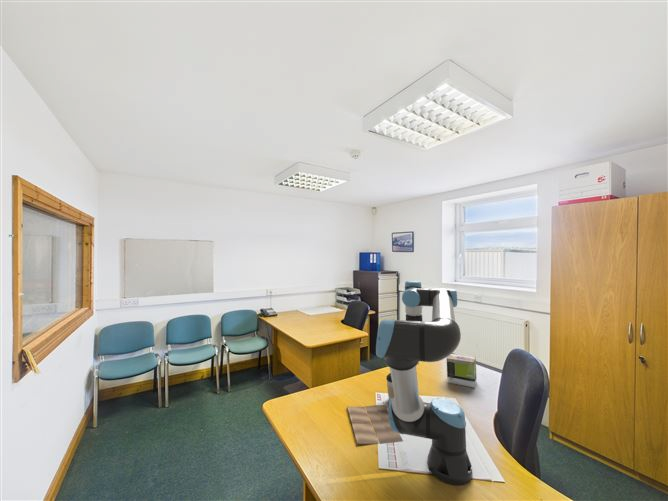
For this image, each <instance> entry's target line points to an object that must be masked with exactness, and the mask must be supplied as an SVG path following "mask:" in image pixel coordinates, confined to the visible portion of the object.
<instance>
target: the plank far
mask: <svg viewBox="0 0 668 501" xmlns="http://www.w3.org/2000/svg"><path fill="white" fill-rule="evenodd" d="M346 408H347V413H348V418H349V421H350V424H351V426H352V423H371V420H370V418H369V415H368V412H367V410H366V407H365V406H349V405H347V406H346ZM371 424H372V423H371Z"/></svg>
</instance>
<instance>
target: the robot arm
mask: <svg viewBox="0 0 668 501" xmlns="http://www.w3.org/2000/svg"><path fill="white" fill-rule="evenodd" d="M401 301H402V303H403V305H404V308H405V310H404V312H405V320H400V319H395V318H391V319H383V320H381V321H380V322H379V325H378V328H377V334H376V335H377V336H376V344H375V354H376V357H378V358H380V359H383V361H384V363H385V364H386V366H387V367H388V368H389V370H390V373H391V378H392V384H393V390H394V396H395V397H394V398H392V399H391V400H390V401H389V403H388V413H389V422H390V426H391V428H392V430H393V431H395V432H398V433H399V434H400V435H407V436H412V437H419V438H422V439H423V438H424V439H429V440H431V446H430V449H429V451H428V453H427V454H428V455H427V464H428V470H429V471H431V472H430V473H431V474H432V476H434V478H436V479H438V480H439V481H440V482H443V483H445V484H449V485H454V486H461V485H462V486H463V485H466V484H467V483H469V482H470V481H471V479H472V478H473V467H472V466H473V465H472V462H471V460H470V457H469V454H468V451H467V434H466V427H467V421H466V415H465V410H464V409H463V408H462V406H460V405H459V404H457V403H456V402H454V401H452V400H450V399H447V398H441V397H437V398H433V399H432V400H431V401H430V402H424V401H423V399H422V398H421V396H420V394H419V392H420V391H419V384H418V372H417V365H420V364H419V363H420V362H422V363H423V362H425V363H435V362H440V361H443V360H444V359H447V357H448V356H449V355H451V354H454V352H455V351H456V350H457V349H458V347H459V344H460V342H461V339H462V338H461V329H460V326H459V324H458V322H456V318H455V311H454V308H455V307H457V306H458V292H457V290H456V289H453V288H422V282H421V281H419V280H406V281H405V283H404V291H403V292H402V295H401ZM423 307H432V308H431V309H432V310H431V311H432V312H431V313H432V314H431V321H424V320H423Z"/></svg>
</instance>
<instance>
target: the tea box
mask: <svg viewBox="0 0 668 501" xmlns="http://www.w3.org/2000/svg"><path fill="white" fill-rule="evenodd" d="M476 363H477V361H476V356H470V355H462V354H455V353H452V354H451V355H449V356H448V357H446V376H447V380H446V381H447V383H450V384H453V385H454V384H455V385H459V386H464V387H469V388H473V389H474V388H476V384H477V380H478V378H477V364H476Z"/></svg>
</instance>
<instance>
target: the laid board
mask: <svg viewBox="0 0 668 501" xmlns="http://www.w3.org/2000/svg"><path fill="white" fill-rule="evenodd" d="M364 407H365V409H366V411H367V414H368V417H369V419H370V422H371V424H372V427H373V429H374V432H375V435H376V437H377V440H378V442H379V444H380V445H381V444H391V443H400V442H404V440H403V438H402V435H401V434H400V433H398V432H395V431H393V430H392V428H391V426H390V422H389V410H388V408H387V407H386V405H385V404H380V405H379V404H377V405H365V406H364Z"/></svg>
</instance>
